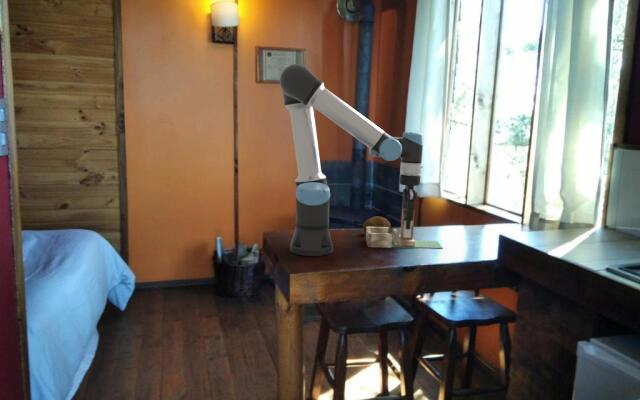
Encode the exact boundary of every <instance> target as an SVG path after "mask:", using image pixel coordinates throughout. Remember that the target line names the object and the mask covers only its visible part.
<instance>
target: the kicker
mask: <svg viewBox="0 0 640 400" xmlns="http://www.w3.org/2000/svg"><path fill="white" fill-rule="evenodd" d="M405 210H406V208H401V219H400V220H401V222H400V224H401V225H400V233H399V231H398V230H397V228H392V240H393V242H394V244H395V245H399V246H415V240H416V239H414V224H415V223H414V222H415V213H414V214H413V220H412V227H411V238H405V237H403V232H404V220H403V219H405Z"/></svg>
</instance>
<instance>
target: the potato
mask: <svg viewBox="0 0 640 400" xmlns="http://www.w3.org/2000/svg"><path fill="white" fill-rule="evenodd" d="M366 227H389V230H390V229H391V223H390V221H389V219H387V218H386V217H383V216H378V215H376V216H372V217H370V218H367V219H366V220H365V221H364V222H363V224H362V230H363V232H364V234H366Z"/></svg>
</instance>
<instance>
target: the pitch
mask: <svg viewBox="0 0 640 400" xmlns="http://www.w3.org/2000/svg"><path fill="white" fill-rule="evenodd" d="M414 240H415V246H399V245H395V244H394V242H393V239H392V245H391V248H409V249H410V248H411V249H413V248H414V249H440V250H443V248H444V247H443V246H442V245H441V244H440V243H439V241H438V240H421V239H420V240H419V239H418V240H417V239H414Z"/></svg>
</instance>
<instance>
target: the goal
mask: <svg viewBox="0 0 640 400" xmlns="http://www.w3.org/2000/svg"><path fill="white" fill-rule="evenodd" d="M389 230H390V229H389V227H366V233H365V241H366V245H367V248H389V249H391V248H392V247H391V245H392V240H393V233H389Z"/></svg>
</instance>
